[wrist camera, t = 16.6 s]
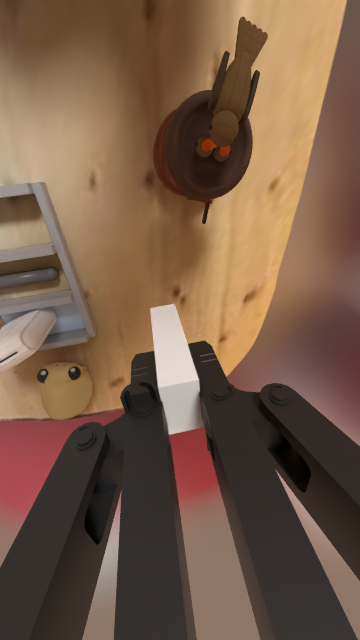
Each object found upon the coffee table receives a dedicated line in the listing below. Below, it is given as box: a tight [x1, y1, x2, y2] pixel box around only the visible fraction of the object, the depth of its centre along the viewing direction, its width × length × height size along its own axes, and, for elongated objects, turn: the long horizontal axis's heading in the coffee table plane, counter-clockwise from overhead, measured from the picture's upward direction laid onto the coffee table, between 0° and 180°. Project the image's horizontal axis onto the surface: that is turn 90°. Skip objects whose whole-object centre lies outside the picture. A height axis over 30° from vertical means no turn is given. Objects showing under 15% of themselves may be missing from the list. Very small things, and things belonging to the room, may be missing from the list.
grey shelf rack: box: [0, 182, 97, 352], centre depth 38 cm, size 26×16×4 cm, turn 7°
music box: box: [154, 17, 268, 224], centre depth 28 cm, size 15×11×20 cm
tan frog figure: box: [37, 362, 93, 420], centre depth 46 cm, size 10×12×11 cm
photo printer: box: [0, 307, 57, 373], centre depth 38 cm, size 10×4×12 cm, turn 117°
